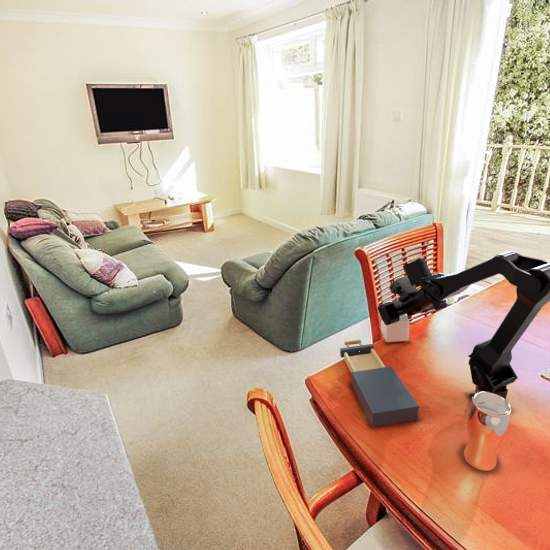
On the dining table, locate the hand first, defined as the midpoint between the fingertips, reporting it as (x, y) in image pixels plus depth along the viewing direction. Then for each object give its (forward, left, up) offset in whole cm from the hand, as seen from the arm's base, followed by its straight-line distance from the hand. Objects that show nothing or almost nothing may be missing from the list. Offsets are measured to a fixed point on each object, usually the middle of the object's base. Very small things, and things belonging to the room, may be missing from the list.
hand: (393, 314), depth 119 cm
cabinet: (-28, +15, -7) cm, 32 cm away
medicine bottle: (-2, 0, -7) cm, 7 cm away
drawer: (-13, +15, -7) cm, 21 cm away
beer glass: (-48, +2, -8) cm, 48 cm away
